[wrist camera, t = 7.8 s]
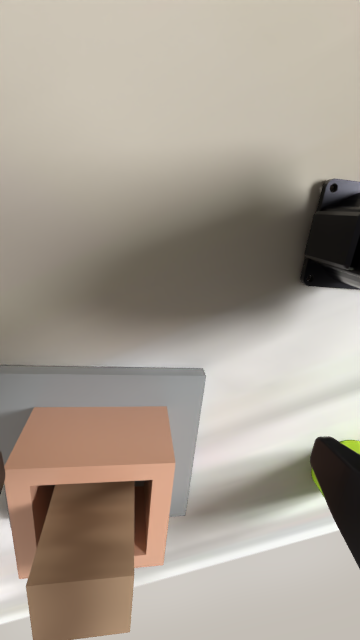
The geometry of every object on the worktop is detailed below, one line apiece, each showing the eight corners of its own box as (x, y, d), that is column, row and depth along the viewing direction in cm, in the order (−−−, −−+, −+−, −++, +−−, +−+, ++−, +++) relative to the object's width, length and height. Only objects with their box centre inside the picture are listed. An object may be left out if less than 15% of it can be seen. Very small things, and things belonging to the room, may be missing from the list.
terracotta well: (202, 368, 21) (226, 425, 16) (183, 504, 26) (196, 584, 21) (-6, 365, 19) (-64, 430, 14) (15, 515, 24) (-21, 608, 18)
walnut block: (134, 432, 21) (134, 575, 13) (132, 477, 23) (130, 631, 15) (70, 433, 21) (26, 586, 12) (72, 480, 22) (33, 644, 14)
